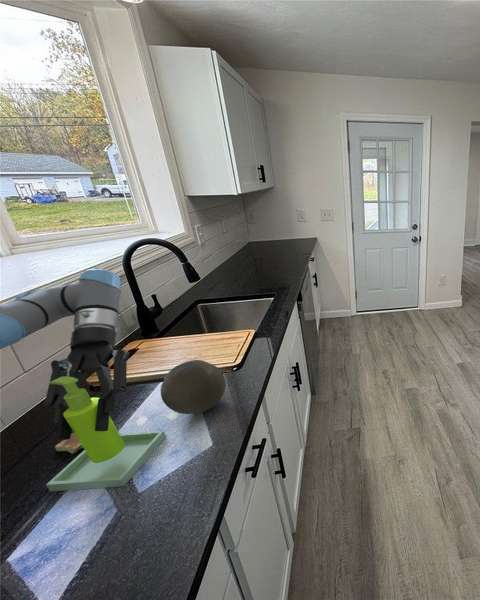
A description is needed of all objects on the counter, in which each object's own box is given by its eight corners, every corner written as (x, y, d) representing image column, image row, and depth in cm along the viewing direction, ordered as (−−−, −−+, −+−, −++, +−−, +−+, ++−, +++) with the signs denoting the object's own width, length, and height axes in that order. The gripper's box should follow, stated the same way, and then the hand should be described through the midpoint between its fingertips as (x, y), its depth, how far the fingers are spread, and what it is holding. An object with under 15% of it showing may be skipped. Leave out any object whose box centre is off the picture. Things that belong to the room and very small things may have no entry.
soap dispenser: (109, 439, 75) (70, 369, 67) (131, 443, 73) (93, 372, 65) (81, 459, 70) (35, 386, 62) (103, 465, 68) (58, 390, 60)
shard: (102, 419, 86) (100, 414, 86) (124, 422, 85) (122, 417, 84) (55, 451, 77) (51, 445, 76) (79, 455, 75) (75, 449, 74)
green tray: (50, 491, 66) (45, 484, 65) (104, 440, 79) (101, 434, 78) (124, 486, 66) (120, 479, 66) (166, 436, 79) (163, 430, 78)
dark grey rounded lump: (183, 400, 92) (166, 356, 87) (235, 389, 96) (222, 346, 90) (164, 435, 80) (143, 386, 74) (225, 421, 83) (209, 374, 77)
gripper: (30, 333, 68) (7, 447, 59) (132, 318, 73) (124, 422, 64) (58, 343, 75) (41, 447, 66) (150, 329, 79) (145, 424, 71)
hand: (82, 434), depth 65 cm, fingers closed on soap dispenser, 6 cm apart
